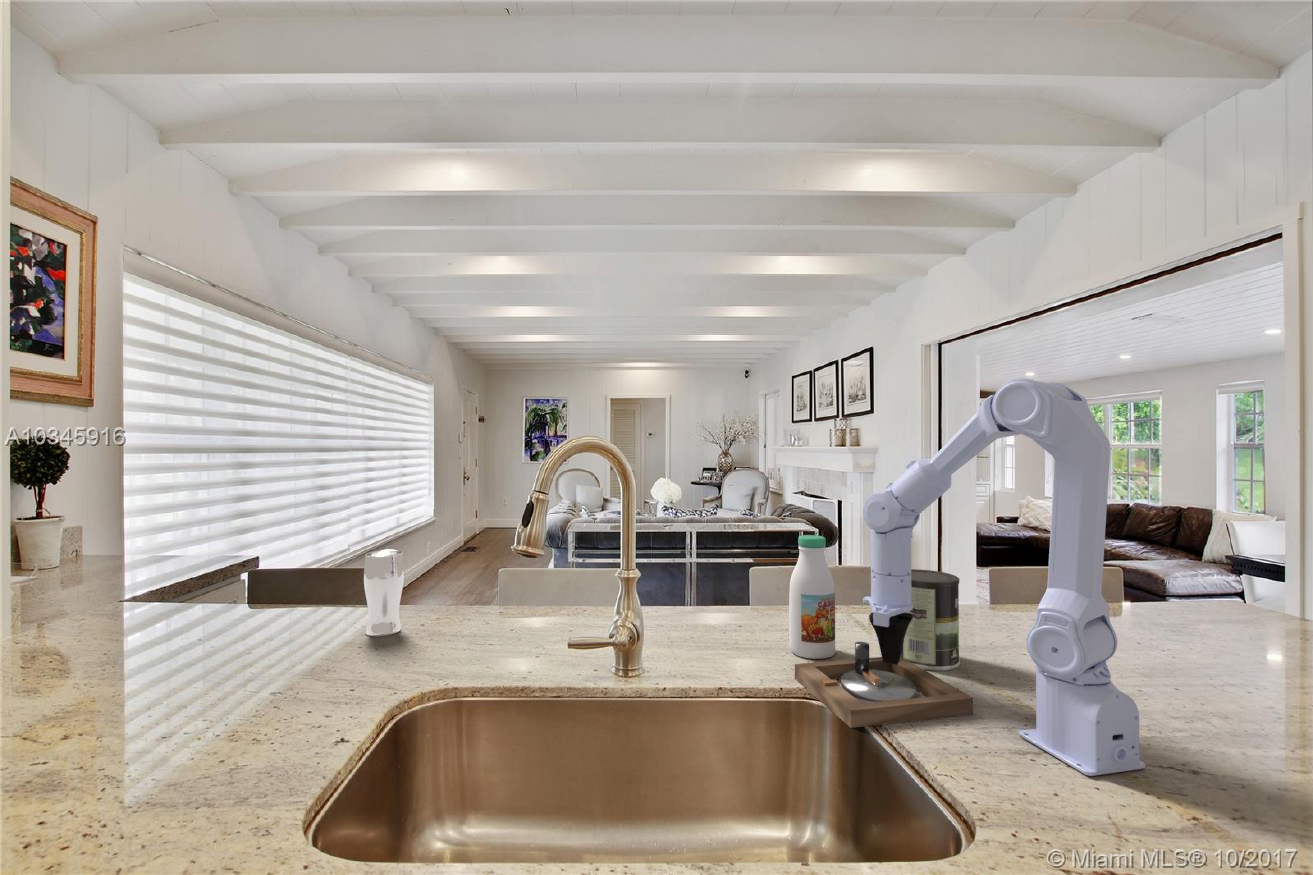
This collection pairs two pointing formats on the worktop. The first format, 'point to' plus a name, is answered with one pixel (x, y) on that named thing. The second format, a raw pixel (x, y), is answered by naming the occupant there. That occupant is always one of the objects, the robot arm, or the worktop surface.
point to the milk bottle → (812, 602)
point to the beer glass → (383, 591)
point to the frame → (936, 704)
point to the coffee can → (933, 621)
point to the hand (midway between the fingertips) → (891, 662)
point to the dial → (874, 681)
